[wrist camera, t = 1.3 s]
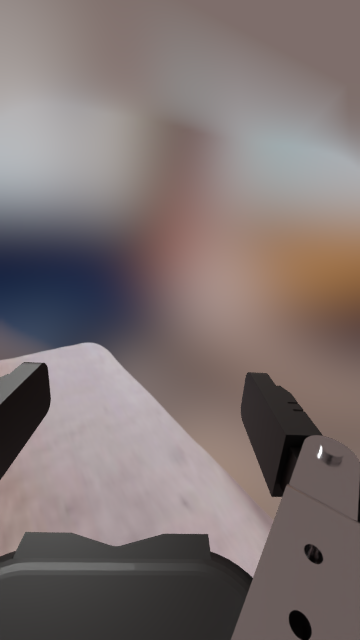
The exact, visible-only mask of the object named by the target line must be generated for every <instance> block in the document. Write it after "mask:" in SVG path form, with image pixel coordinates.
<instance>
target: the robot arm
mask: <svg viewBox="0 0 360 640" xmlns="http://www.w3.org/2000/svg"><path fill="white" fill-rule="evenodd" d="M50 401H51V396H50V386H49V376H48V367H47V365H46V364H45V363H32V362H24V363H22V364H21V365H20V366H18V367H17V368H16V369H15V370H14V371H13V372H11V373H10V374H7V375H5V376H3V377H1V378H0V480H1V478H2V477H3V475H4V474H5V473H6V471H7V470H8V468H9V467H10V465H11V464H12V463H13V461H14V460H15V458H16V457H17V455H18V454H19V453H20V451H21V450H22V448H23V447H24V446H25V444H26V443H27V441H28V440H29V438H30V437H31V436H32V434H33V433H34V431H35V430H36V428H37V427H38V426H39V424H40V423H41V421H42V420H43V418H44V417H45V416H46V414H47V412H48V410H49V407H50ZM241 416H242V421H243V424H244V426H245V429H246V432H247V434H248V436H249V439H250V442H251V445H252V447H253V450H254V452H255V455H256V457H257V460H258V463H259V465H260V468H261V470H262V473H263V476H264V478H265V481H266V483H267V486H268V488H269V491H270V494H271V496H272V497H282V499H281V502H280V505H279V508H278V510H277V513H276V516H275V519H274V522H273V524H272V527H271V530H270V533H269V535H268V538H267V541H266V544H265V546H264V549H263V552H262V555H261V558H260V560H259V563H258V566H257V569H256V571H255V574H254V577H253V578H252V577H251V576H250V575H249V574H248V573H247V572H245V571H244V570H243V569H242V568H241V567H239V566H238V565H236V564H235V563H233V562H232V561H230V560H229V559H227V558H225V557H223V556H220V555H218V554H216V553H213V552H210V546H209V538H208V534H162V535H158V536H155V537H151V538H148V539H144V540H140V541H137V542H133V543H129V544H126V545H122V546H110V545H107V544H104V543H101V542H98V541H95V540H92V539H89V538H86V537H83V536H80V535H77V534H74V533H47V532H25V534H24V536H23V538H22V540H21V542H20V544H19V546H18V548H17V550H16V551H14V552H11V553H8V554H5V555H3V556H0V640H360V462H359V460H358V458H357V456H356V455H355V454H354V453H353V452H352V451H351V450H350V449H349V448H348V447H347V446H345V445H344V444H342V443H340V442H338V441H336V440H334V439H332V438H329V437H326V436H323V435H322V434H321V432H320V431H319V430H318V428H317V427H316V426H315V425H314V423H313V422H312V421H311V419H310V418H309V417H308V415H307V414H306V413H305V412H303V409H302V408H301V406H300V405H299V404H298V403H297V401H296V400H295V398H294V397H293V396H292V394H291V393H289V392H288V391H287V390H285V389H284V388H282V387H281V386H276V385H275V384H274V382H273V381H272V379H271V378H270V377H269V375H268V374H267V373H251V372H248V373H247V375H246V378H245V385H244V391H243V397H242V404H241Z"/></svg>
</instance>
